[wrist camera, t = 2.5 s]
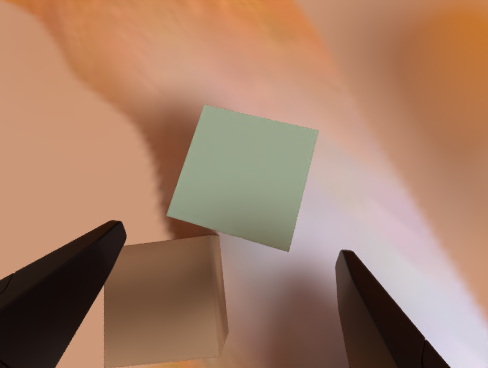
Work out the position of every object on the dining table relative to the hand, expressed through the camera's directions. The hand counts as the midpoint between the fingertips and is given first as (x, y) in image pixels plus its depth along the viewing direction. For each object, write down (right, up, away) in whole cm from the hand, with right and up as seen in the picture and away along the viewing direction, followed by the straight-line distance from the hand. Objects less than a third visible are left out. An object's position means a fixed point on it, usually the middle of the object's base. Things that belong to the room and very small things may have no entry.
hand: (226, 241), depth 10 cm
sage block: (+2, +1, +10) cm, 10 cm away
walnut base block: (-4, -6, +9) cm, 12 cm away
